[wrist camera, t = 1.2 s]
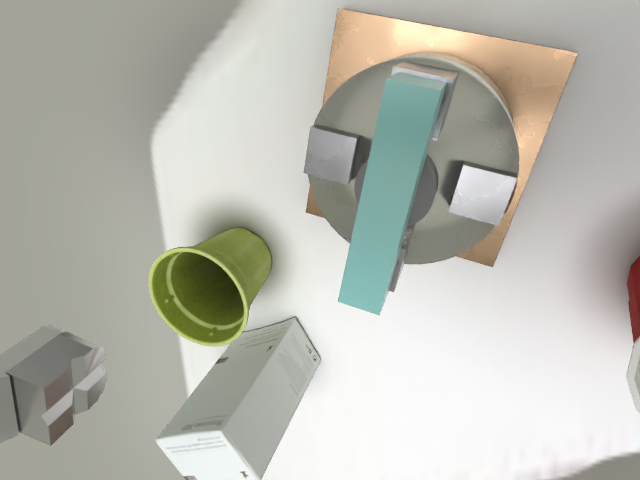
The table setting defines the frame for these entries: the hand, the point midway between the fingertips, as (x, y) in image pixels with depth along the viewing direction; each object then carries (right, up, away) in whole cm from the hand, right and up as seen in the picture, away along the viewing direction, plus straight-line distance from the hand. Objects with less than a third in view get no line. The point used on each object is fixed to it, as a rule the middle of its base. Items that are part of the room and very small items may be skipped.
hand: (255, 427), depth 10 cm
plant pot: (-6, +3, +35) cm, 36 cm away
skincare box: (-3, -7, +39) cm, 39 cm away
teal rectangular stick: (+6, +8, +16) cm, 19 cm away
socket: (+9, +12, +25) cm, 29 cm away
